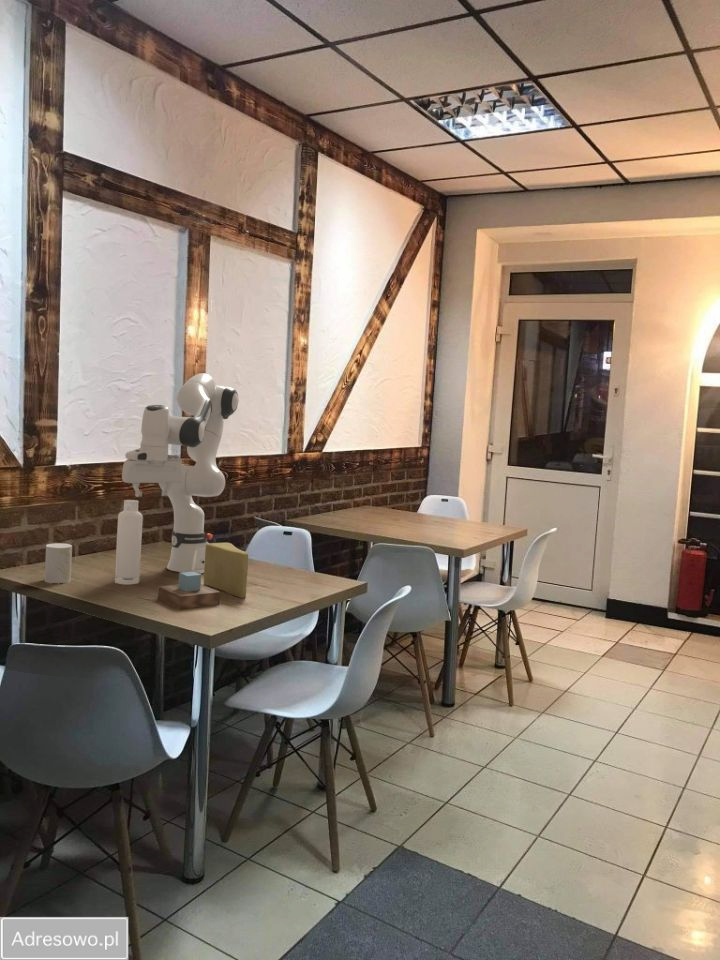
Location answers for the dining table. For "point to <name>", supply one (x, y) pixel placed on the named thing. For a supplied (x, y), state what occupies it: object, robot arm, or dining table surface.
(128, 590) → the dining table surface
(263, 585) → the dining table surface
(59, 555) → the cup
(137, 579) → the bottle
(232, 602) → the dining table surface
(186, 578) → the cube
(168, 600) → the riser
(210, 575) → the cheese
